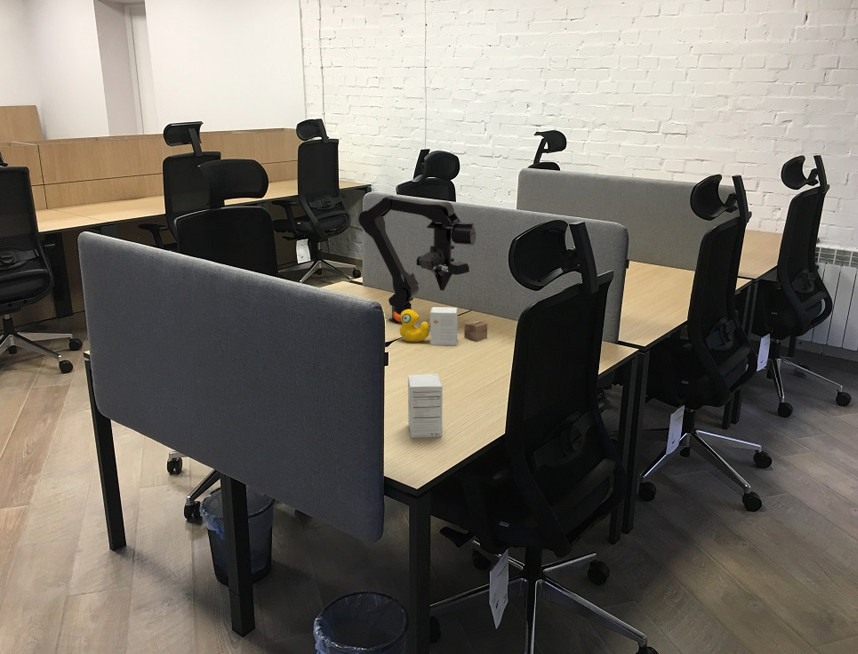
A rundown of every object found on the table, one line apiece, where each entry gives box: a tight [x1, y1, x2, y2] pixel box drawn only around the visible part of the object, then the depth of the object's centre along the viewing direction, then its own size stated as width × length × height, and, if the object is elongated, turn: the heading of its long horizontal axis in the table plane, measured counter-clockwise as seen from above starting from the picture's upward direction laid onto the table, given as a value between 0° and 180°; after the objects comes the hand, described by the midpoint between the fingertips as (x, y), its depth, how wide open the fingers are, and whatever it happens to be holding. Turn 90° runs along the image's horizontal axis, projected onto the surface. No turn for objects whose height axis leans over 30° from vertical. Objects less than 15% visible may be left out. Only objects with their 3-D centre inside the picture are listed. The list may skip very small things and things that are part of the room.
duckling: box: [393, 309, 430, 343], centre depth 229 cm, size 11×5×10 cm, turn 75°
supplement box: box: [407, 373, 443, 439], centre depth 170 cm, size 7×7×13 cm
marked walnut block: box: [463, 319, 488, 343], centre depth 232 cm, size 5×5×5 cm
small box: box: [429, 306, 458, 346], centre depth 228 cm, size 8×6×10 cm
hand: (442, 290), depth 241 cm, fingers closed
